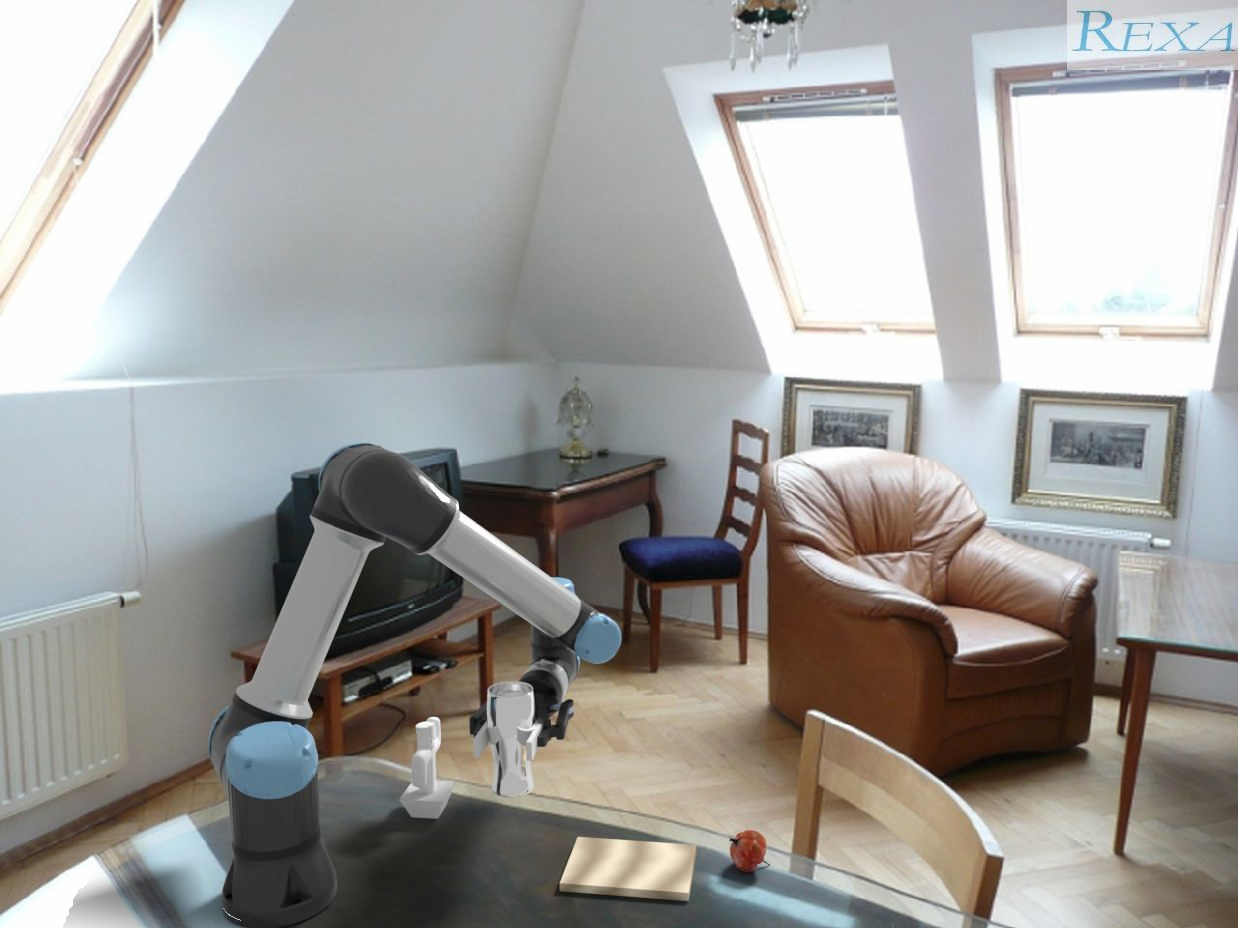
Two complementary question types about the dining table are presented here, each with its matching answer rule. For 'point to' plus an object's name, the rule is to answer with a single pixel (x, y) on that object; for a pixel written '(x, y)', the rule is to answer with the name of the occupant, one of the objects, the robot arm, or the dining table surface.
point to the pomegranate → (748, 850)
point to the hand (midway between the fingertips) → (502, 749)
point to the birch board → (630, 868)
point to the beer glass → (511, 736)
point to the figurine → (426, 775)
